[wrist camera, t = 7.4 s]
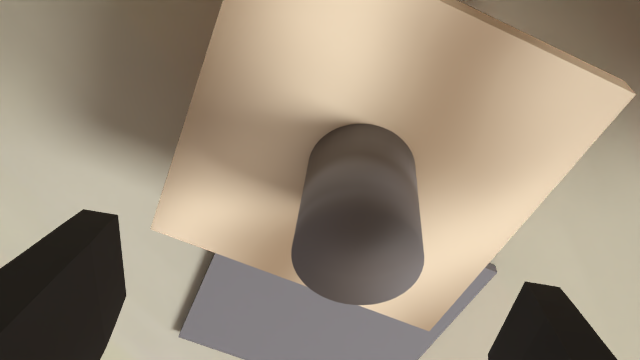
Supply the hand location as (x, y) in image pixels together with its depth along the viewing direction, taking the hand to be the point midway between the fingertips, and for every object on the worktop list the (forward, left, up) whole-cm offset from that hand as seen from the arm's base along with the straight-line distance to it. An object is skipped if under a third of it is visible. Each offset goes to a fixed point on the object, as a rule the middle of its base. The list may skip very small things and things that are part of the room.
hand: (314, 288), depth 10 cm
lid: (+1, -1, -7) cm, 7 cm away
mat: (+4, -11, -10) cm, 16 cm away
